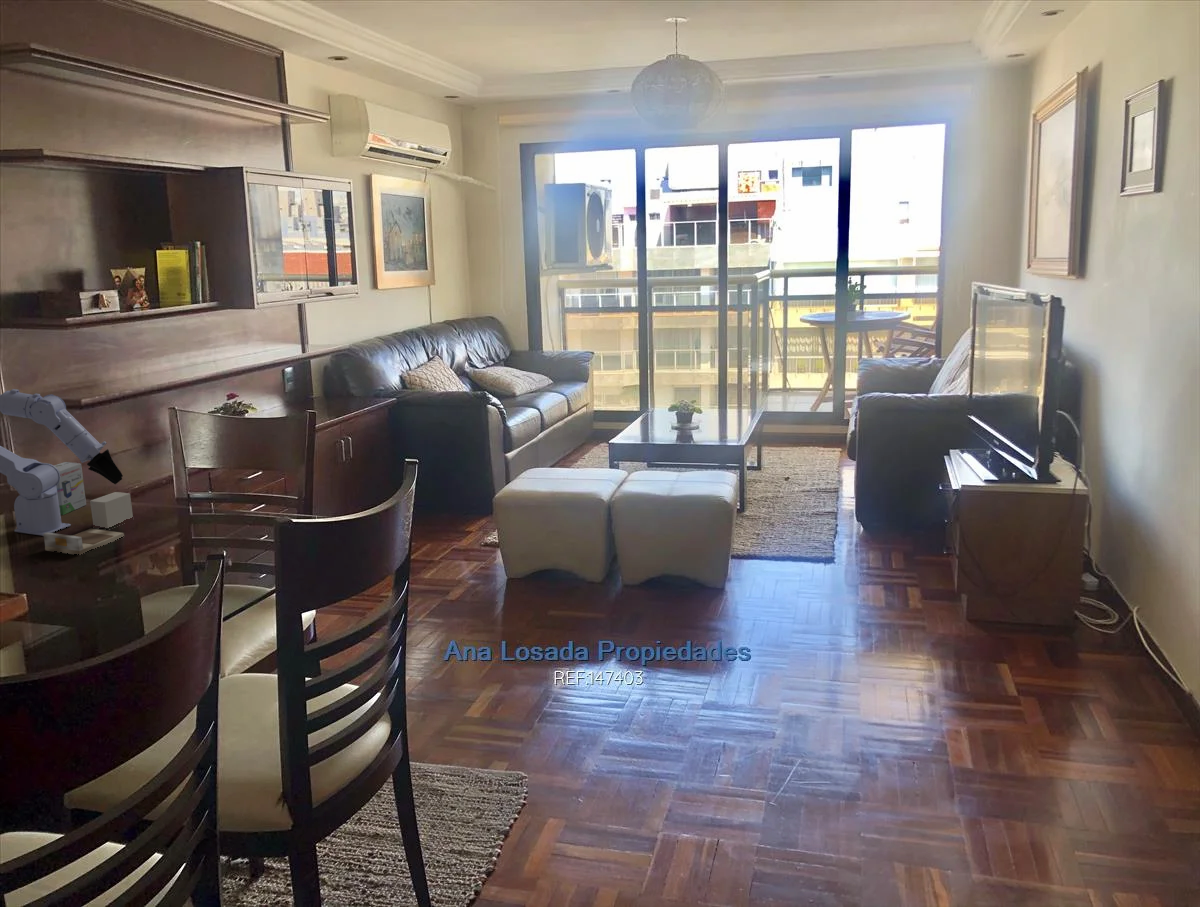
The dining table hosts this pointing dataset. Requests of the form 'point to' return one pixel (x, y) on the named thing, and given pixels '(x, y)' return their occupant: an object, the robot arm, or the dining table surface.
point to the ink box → (70, 487)
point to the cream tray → (79, 541)
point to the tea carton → (111, 509)
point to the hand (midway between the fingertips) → (119, 480)
